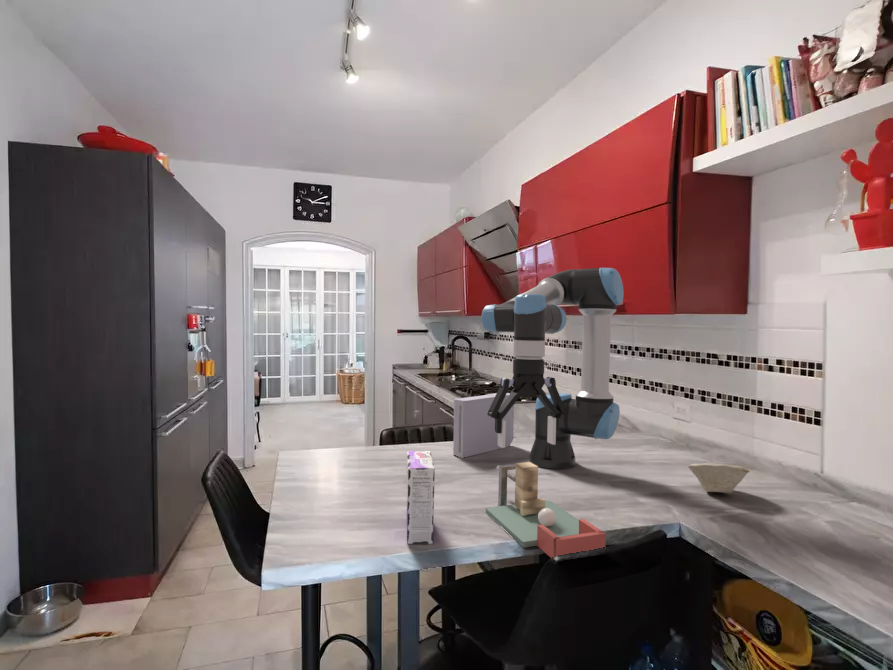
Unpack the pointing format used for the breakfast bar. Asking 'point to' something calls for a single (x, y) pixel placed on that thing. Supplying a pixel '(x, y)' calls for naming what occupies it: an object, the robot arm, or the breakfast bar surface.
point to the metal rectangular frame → (503, 483)
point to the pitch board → (532, 523)
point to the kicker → (526, 488)
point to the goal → (570, 540)
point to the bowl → (718, 476)
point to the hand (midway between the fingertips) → (526, 445)
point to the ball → (547, 517)
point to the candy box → (420, 497)
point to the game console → (478, 426)
